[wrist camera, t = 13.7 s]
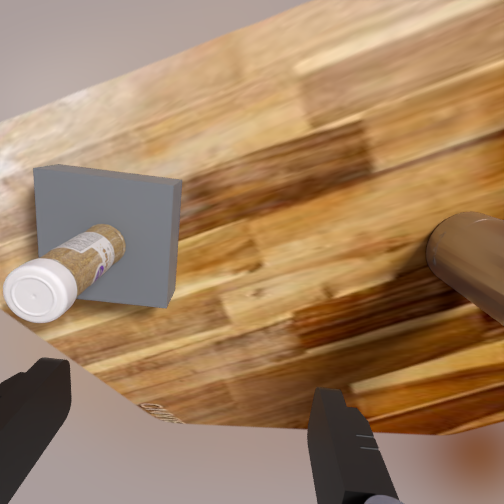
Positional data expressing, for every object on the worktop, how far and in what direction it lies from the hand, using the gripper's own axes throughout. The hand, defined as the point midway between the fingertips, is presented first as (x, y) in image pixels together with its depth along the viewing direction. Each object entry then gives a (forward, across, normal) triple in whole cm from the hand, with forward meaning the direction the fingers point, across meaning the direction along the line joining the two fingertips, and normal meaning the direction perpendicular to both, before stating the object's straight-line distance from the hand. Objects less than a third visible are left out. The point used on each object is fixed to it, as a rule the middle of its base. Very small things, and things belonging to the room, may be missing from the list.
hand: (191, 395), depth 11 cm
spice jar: (+27, +14, +4) cm, 30 cm away
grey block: (+32, +14, +4) cm, 35 cm away
